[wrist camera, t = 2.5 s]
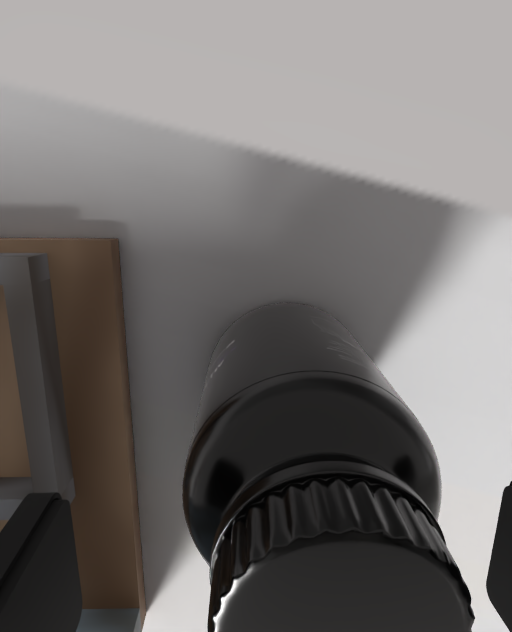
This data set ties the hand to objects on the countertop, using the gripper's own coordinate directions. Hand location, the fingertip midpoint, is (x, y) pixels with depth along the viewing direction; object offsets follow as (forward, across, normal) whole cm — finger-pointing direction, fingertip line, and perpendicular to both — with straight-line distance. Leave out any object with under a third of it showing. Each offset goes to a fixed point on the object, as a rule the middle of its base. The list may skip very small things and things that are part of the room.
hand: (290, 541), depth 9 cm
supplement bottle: (+10, -1, 0) cm, 10 cm away
